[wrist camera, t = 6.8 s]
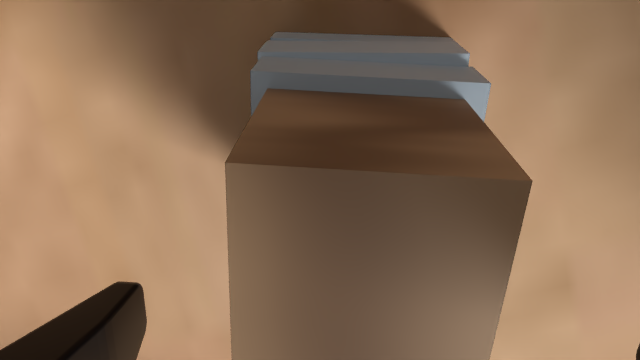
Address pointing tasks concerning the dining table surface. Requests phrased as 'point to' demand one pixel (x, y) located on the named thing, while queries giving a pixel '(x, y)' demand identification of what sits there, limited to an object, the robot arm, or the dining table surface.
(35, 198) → the dining table surface
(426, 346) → the walnut cube
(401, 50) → the slab middle
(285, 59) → the slab top
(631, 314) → the dining table surface
